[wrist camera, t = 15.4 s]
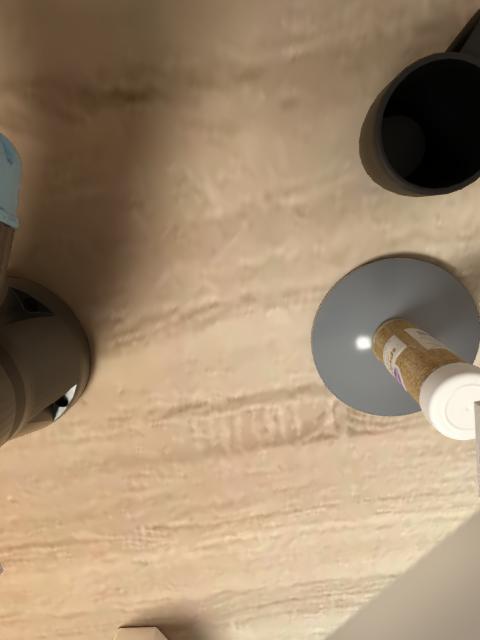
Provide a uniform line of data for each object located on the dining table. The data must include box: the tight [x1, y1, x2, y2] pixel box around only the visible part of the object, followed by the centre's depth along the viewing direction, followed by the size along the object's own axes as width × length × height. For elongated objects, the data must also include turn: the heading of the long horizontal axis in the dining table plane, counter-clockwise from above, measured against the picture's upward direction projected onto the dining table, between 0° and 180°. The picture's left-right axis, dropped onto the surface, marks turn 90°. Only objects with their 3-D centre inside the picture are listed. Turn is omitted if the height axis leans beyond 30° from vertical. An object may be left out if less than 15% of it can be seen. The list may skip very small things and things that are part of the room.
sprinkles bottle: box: [372, 319, 480, 440], centre depth 31 cm, size 5×5×14 cm
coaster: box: [311, 258, 480, 416], centre depth 38 cm, size 15×15×1 cm
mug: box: [359, 9, 480, 197], centre depth 30 cm, size 8×12×10 cm
